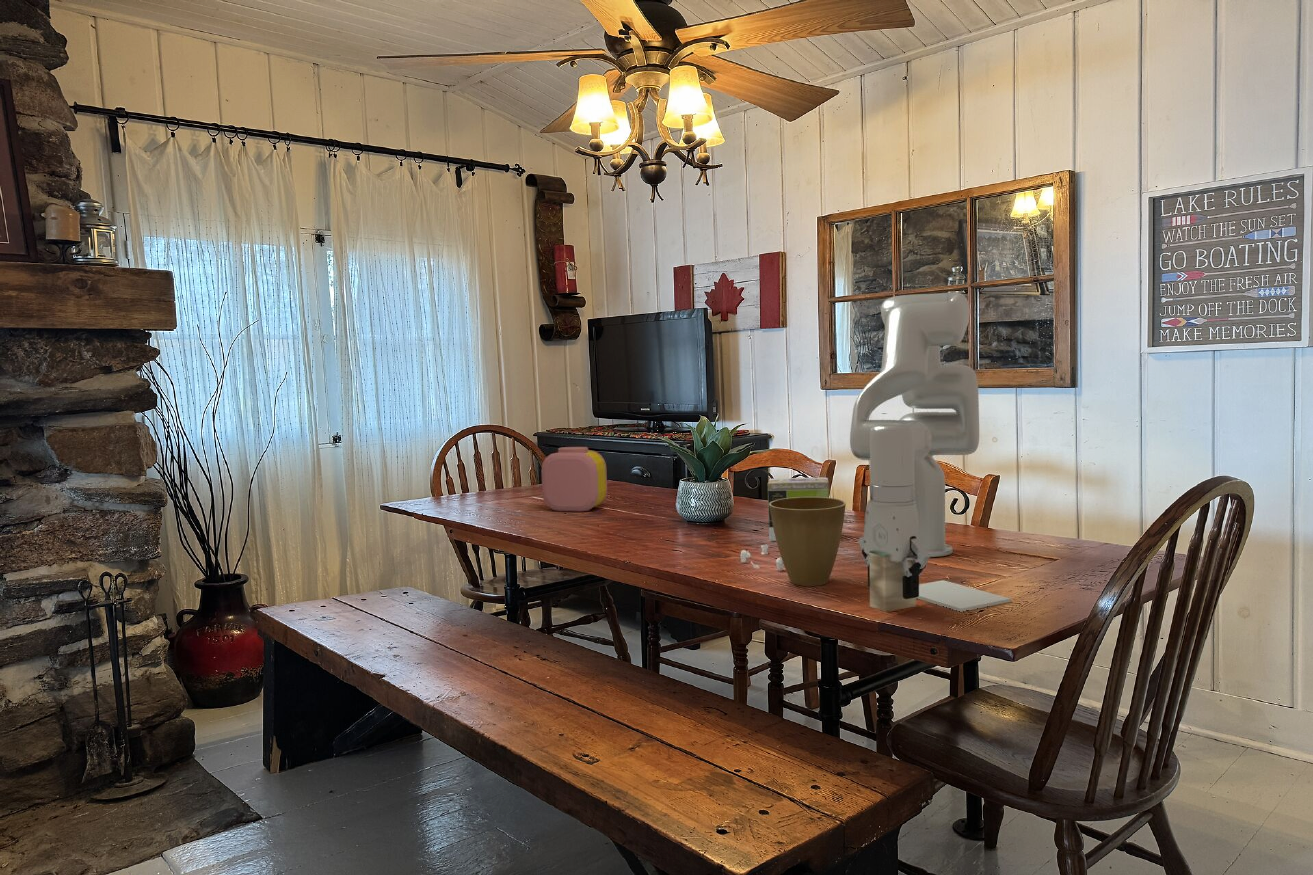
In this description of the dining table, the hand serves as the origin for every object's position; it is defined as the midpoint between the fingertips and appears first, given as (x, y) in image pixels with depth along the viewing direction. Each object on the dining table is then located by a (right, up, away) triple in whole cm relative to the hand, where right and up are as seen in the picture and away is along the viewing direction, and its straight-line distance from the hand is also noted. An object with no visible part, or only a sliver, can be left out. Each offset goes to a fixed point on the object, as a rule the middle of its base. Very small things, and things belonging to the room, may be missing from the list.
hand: (892, 591), depth 153 cm
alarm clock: (-67, +5, +117) cm, 135 cm away
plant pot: (-12, -2, +19) cm, 22 cm away
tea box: (-6, +2, +63) cm, 63 cm away
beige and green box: (0, -3, 0) cm, 3 cm away
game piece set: (-14, -1, +38) cm, 40 cm away
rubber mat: (+12, -2, +5) cm, 13 cm away
